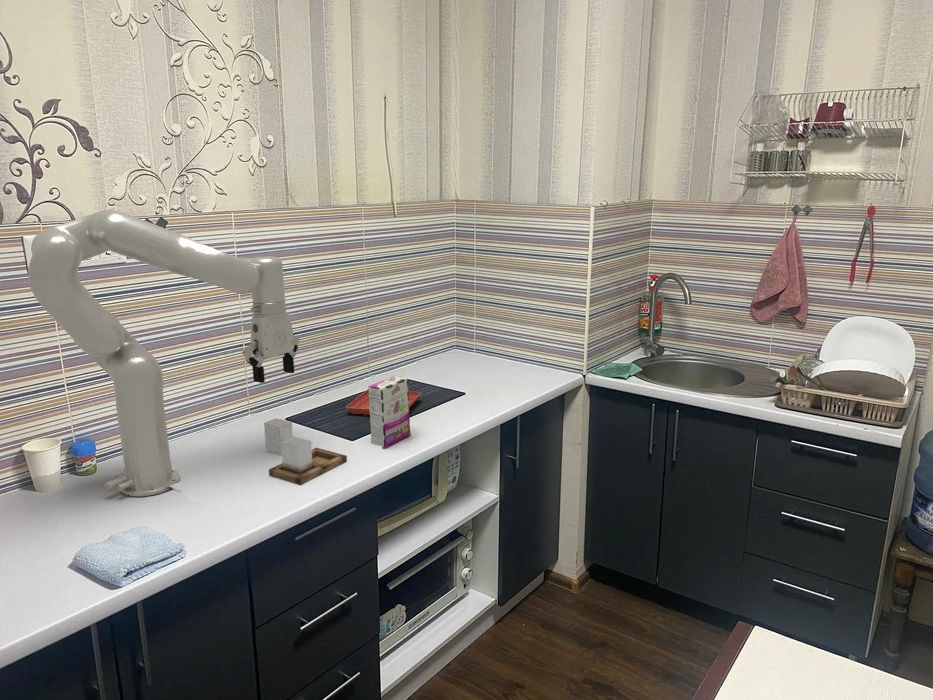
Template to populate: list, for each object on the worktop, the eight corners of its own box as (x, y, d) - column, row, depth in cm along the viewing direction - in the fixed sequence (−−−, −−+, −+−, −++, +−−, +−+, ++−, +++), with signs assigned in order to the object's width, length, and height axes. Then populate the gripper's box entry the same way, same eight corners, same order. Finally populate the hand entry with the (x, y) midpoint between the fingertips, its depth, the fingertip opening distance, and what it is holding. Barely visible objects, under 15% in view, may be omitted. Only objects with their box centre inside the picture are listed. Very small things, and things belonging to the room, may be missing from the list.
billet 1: (281, 457, 170) (279, 426, 168) (266, 452, 173) (263, 422, 171) (293, 451, 173) (291, 422, 171) (278, 447, 176) (276, 418, 174)
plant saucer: (345, 417, 201) (344, 406, 200) (368, 398, 218) (367, 388, 217) (403, 421, 197) (403, 410, 196) (422, 402, 214) (421, 392, 213)
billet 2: (300, 479, 156) (298, 446, 154) (283, 474, 159) (280, 441, 157) (313, 473, 160) (310, 440, 158) (296, 468, 162) (293, 436, 160)
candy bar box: (396, 432, 188) (394, 374, 184) (410, 435, 185) (409, 377, 181) (369, 445, 178) (367, 385, 174) (384, 449, 176) (382, 388, 172)
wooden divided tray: (300, 489, 153) (299, 478, 153) (269, 479, 159) (268, 469, 158) (347, 465, 166) (346, 455, 166) (317, 456, 171) (316, 447, 171)
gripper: (252, 316, 155) (257, 388, 159) (306, 304, 170) (310, 371, 174) (229, 312, 159) (235, 383, 163) (284, 301, 173) (289, 367, 177)
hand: (274, 377), depth 168 cm, fingers open, 9 cm apart
